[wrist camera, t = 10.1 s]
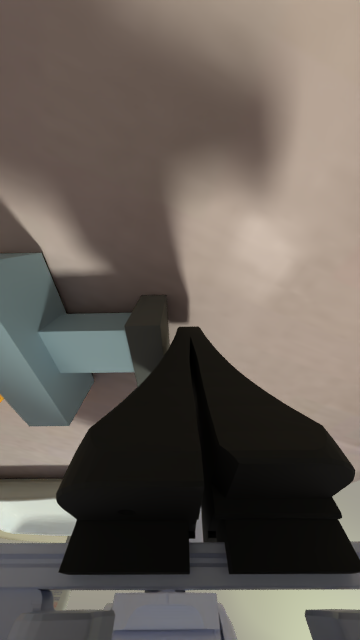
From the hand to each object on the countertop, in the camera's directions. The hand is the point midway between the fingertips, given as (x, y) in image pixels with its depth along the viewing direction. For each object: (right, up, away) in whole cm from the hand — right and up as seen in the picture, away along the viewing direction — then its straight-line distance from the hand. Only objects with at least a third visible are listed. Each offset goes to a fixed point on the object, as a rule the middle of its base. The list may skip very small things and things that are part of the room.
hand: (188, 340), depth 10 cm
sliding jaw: (-6, +1, +1) cm, 6 cm away
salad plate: (-23, -30, +19) cm, 43 cm away
